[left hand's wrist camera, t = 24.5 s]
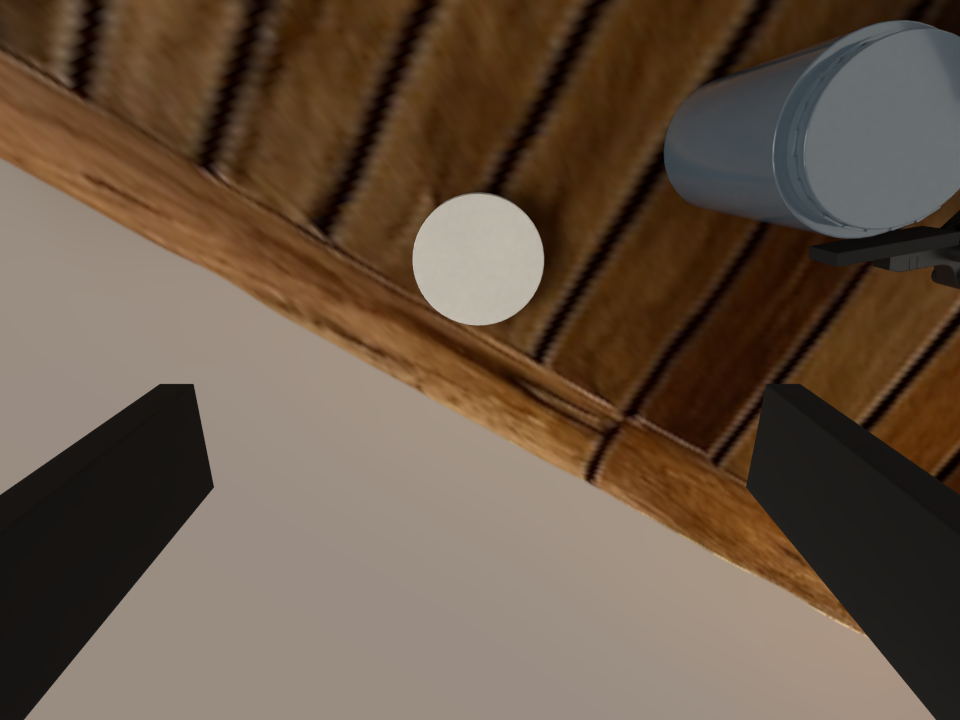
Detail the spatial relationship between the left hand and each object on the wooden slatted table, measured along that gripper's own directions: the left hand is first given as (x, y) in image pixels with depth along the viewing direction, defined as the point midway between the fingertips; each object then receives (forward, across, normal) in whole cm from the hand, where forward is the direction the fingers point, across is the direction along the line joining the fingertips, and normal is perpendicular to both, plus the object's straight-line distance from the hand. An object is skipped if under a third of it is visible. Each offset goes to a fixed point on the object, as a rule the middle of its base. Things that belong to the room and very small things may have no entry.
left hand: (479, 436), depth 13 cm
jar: (+26, +16, +7) cm, 31 cm away
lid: (+25, 0, 0) cm, 25 cm away
